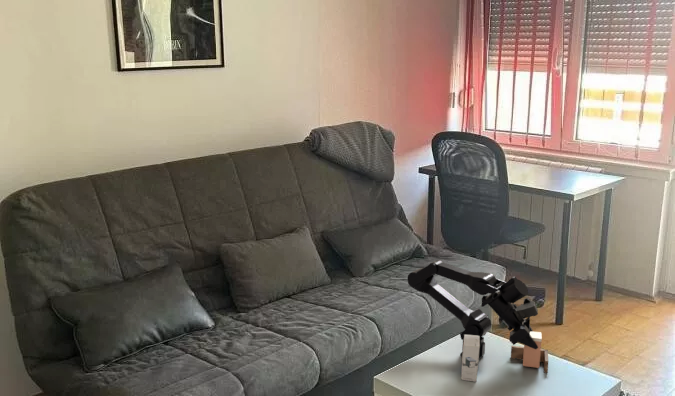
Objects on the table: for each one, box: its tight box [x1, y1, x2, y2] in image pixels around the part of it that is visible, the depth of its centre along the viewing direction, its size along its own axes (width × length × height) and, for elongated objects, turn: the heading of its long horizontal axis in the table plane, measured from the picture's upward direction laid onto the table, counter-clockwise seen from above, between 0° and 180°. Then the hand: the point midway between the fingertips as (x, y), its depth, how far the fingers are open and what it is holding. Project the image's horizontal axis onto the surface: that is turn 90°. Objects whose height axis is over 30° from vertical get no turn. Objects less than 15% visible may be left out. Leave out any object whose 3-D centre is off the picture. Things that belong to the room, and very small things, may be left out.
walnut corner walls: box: [510, 345, 549, 374], centre depth 216 cm, size 12×8×4 cm
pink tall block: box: [522, 330, 543, 369], centre depth 214 cm, size 5×5×10 cm
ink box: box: [460, 334, 480, 382], centre depth 208 cm, size 9×5×12 cm, turn 168°
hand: (537, 344), depth 213 cm, fingers closed on pink tall block, 5 cm apart
